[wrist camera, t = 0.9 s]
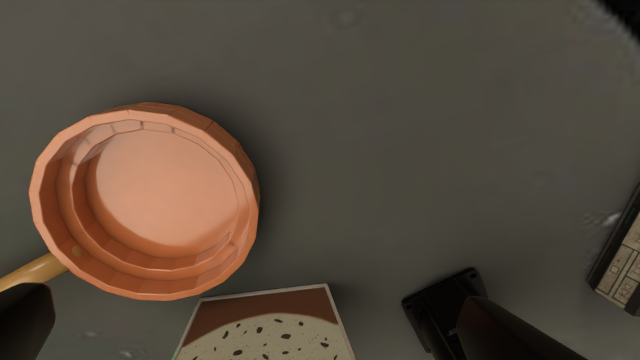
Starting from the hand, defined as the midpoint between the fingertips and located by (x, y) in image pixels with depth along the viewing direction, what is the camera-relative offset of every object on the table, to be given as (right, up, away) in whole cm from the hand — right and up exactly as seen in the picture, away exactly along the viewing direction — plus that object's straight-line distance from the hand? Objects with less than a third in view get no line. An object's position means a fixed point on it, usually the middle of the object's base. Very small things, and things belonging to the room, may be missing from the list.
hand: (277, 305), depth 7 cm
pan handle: (-17, -3, +12) cm, 21 cm away
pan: (-9, +2, +13) cm, 16 cm away
